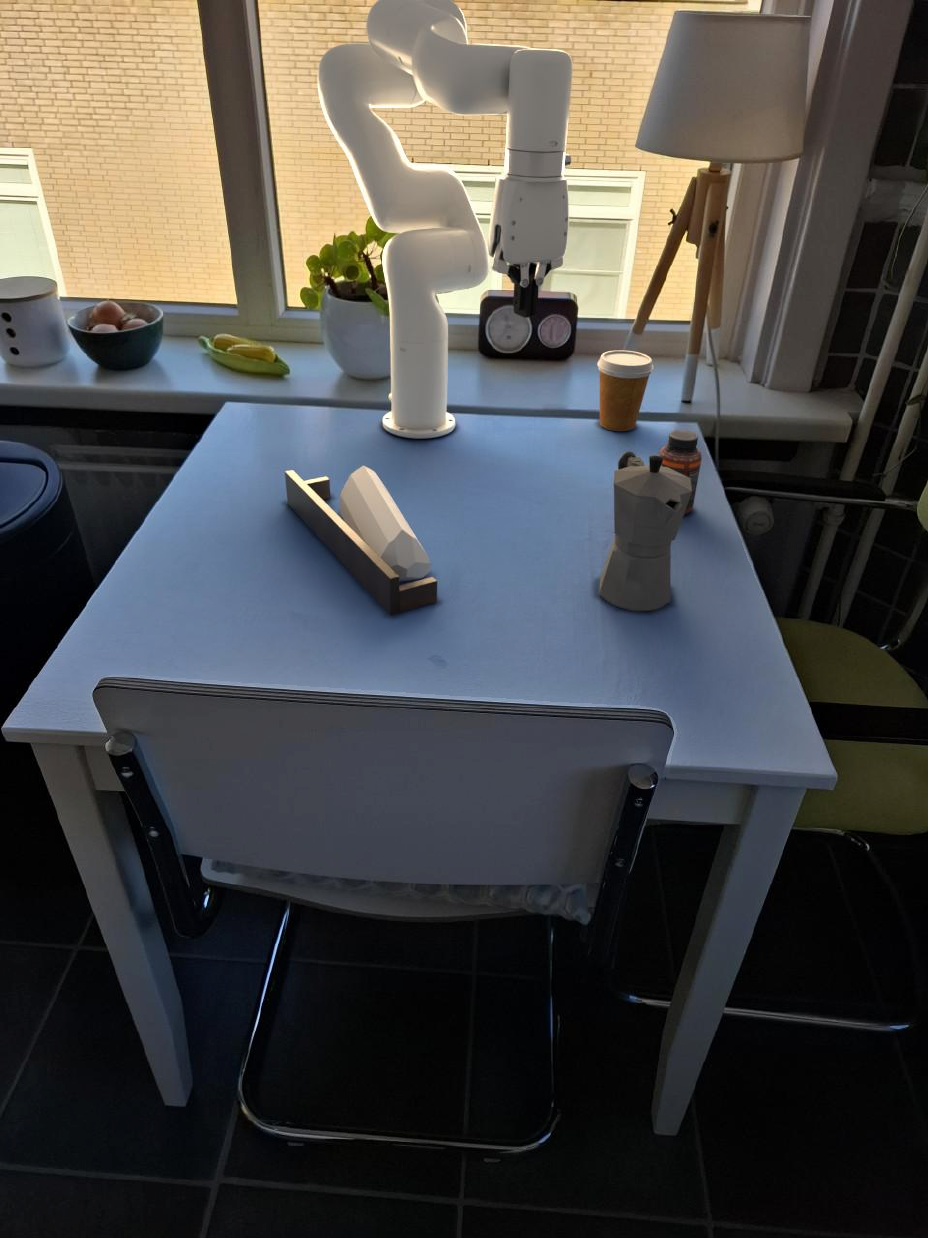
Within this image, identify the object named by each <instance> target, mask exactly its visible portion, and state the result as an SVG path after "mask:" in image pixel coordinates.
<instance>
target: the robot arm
mask: <svg viewBox="0 0 928 1238" xmlns="http://www.w3.org/2000/svg"><path fill="white" fill-rule="evenodd" d="M365 25H366V26H365V27H366V36H367V39H368V42H367V43H366V42H352V43H350V42H349V43H343V44H339V45H336V46H334V47H332V48H330V49H329V50H327V51H326V52H325V53H324V54H323V55H322V57H321V58H320V61H319V65H318V69H317V91H318V97H319V101H320V105H321V109H322V112H323V115H324V118H325V120H326V122H327V125H328V128H329V129H330V130H331V132H332V134H333V135H334V138H335V139H336V140H337V142H338V144H339V145H340V147H341V148H342V150H343V151H344V154H345V156H346V157H347V158H348V159H347V160H348V161H349V164H350V165H351V167H352V170H353V174H354V176H355V178H356V182H357V183H358V186H359V189H360V191H361V193H362V196H363V199H364V201H365V203H366V206H367V208H368V211H369V213H370V215H371V217H372V219H373V222H374V223H375V224H376V226H377V227H378V228H379V229H380V230H381V231H383V232H385V233H389V234H395V235H393V236H392V237H391V238H390V239H388V241H387V242H386V244H385V246H384V248H383V251H382V257H381V259H382V269H383V276H384V280H385V285H386V286H385V287H386V291H387V299H388V309H389V337H390V339H389V340H390V341H389V346H390V393H389V394H388V396H387V397H388V398H387V399H388V400H389V401H390V402H391V405H390V407H391V409H390V410H391V411H389V412H387V413H386V414H385V415H384V416H383V417H382V427H383V428H384V430H385V431H386V432H388V433H390V434H391V435H393V436H394V435H395V436H397V437H401V438H406V439H417V440H418V439H432V438H439V437H443V436H446V435H448V434H450V433H451V432H452V431H453V430H454V429H455V427H456V419H455V417H454V416H453V414H451V413H450V412H447V409H448V408H447V407H448V362H449V361H448V360H449V323H448V318H447V316H446V313H445V311H444V309H443V308H442V306H441V305H440V303H439V302H438V299H437V295H438V294H442V293H447V292H449V293H450V292H456V291H463V290H469V289H472V288H476V287H478V286H480V285H481V284H483V282H485V280H486V279H487V277H488V274H489V272H490V267H491V270H492V271H493V272H496V273H499V274H503V275H506V276H507V277H508V278H509V280H510V283H511V284H513V299H512V307H513V313H514V314H515V315H517V316H520V317H522V318H524V319H528V318H535V317H536V316H537V308H538V305H539V304H538V303H539V293H540V291H539V290H540V287H541V286H542V285H543V284H544V281H545V278H546V276H548V274H549V273H550V271H553V270H556V269H558V268H560V267H562V266H563V264H564V256H565V255H566V252H567V247H568V241H569V225H570V224H569V222H570V203H569V186H568V179H567V178H566V177H565V175H564V174H565V168H566V167H569V166H570V165H571V163H572V156H571V155H570V154H568V153H567V141H568V130H569V129H568V128H569V118H570V117H569V116H570V106H571V93H572V80H573V69H574V67H573V65H574V64H573V59H572V57H571V55H570V54H569V53H568V52H567V51H566V50H561V49H553V48H552V49H549V48H532V47H529V46H525V45H508V44H491V43H487V44H486V43H469V41H468V27H467V22H466V19H465V15H464V13H463V11H462V9H461V8H460V6H459V5H458V4H457V3H456V2H454V1H453V0H377V1H376V2H375V3H374V4H373V5H372V7H371V8H370V9H369V12H368V14H367V18H366V24H365ZM425 101H426V102H429V104H432V105H433V106H435V107H438V108H439V109H441V110H443V111H446V112H448V113H450V114H454V115H457V116H458V115H459V116H507V117H506V135H505V140H506V141H505V156H504V172H503V173H504V175H503V176H498V179H497V182H496V186H495V190H494V194H493V198H492V199H493V200H492V203H491V204H492V205H491V210H490V211H491V212H490V218H489V219H490V220H489V226H488V227H489V228H488V239H487V240H486V237H485V235H484V232H483V229H482V227H481V225H480V221H479V220H478V217H477V214H476V212H475V209H474V207H473V204H472V202H471V200H470V197H469V195H468V193H467V190H466V188H465V186H464V184H463V182H462V180H461V178H460V177H459V176H458V174H456V172H455V171H453V170H452V169H451V168H449V167H447V166H445V165H437V164H430V165H417V164H413V163H411V162H410V161H409V159H408V158H407V156H406V154H405V152H404V150H403V147H402V144H401V142H400V140H399V138H398V136H397V135H396V133H395V132H394V130H393V129H392V128H391V127H390V126H389V125H388V124H387V123H386V121H384V120H383V119H382V118H381V117H379V115H377V114H376V113H375V112H374V111H373V110H372V108H373V109H374V108H375V109H376V108H377V109H378V108H380V109H382V108H383V109H384V108H386V109H387V108H389V109H390V108H394V109H395V108H396V109H397V108H413V107H416V106H420V105H421V104H423V103H424V102H425ZM491 258H493V259H492V264H491Z"/></svg>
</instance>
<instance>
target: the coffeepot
mask: <svg viewBox="0 0 928 1238" xmlns="http://www.w3.org/2000/svg"><path fill="white" fill-rule="evenodd" d="M648 461H649V462H648V463H649V465H647V464H645V461H644V460H643V459H642V458H641V457H640V456H637V455H636V453H634V452H633V451H626V452H625V453H623V454H622V456H621V457H620V458H619V459H618V462H617V469H616V470H614V472H613V524H614V527H613V528H614V529H613V530H614V531H613V532H614V539H613V540H612V542H611V544H610V545H611V546H610V548H609V552H608V555H607V558H606V561H605V563H604V566H603V570H602V573H601V576H600V579H599V591H598V594H599V595H600V596H601V597H602V598H603V600H605V601H606V602H608V603H609V604H611V605H613V606H615V607H617V608H619V609H623V610H627V611H632V612H650V611H655V610H658V609H661V608H663V607H665V606H666V605H667V604H669V603H671V570H672V569H671V567H672V566H671V565H672V563H671V561H672V560H671V555H672V554H671V553H672V552H671V551H672V549H671V547H672V542H673V541H675V540H676V537H677V534H678V532H679V530H680V527H681V524H682V521H683V518H684V517H685V516H684V515H685V514H684V513H685V510H686V507H687V504H688V502H689V499H690V496H691V493H692V487H691V479H690V478H689V477H687V476H685V475H683V474H681V473H678V472H676V471H674V470H672V469H670V468H668V467H661V464H662V462H663V457H660V456H659V455H656V454H652V455H650V456H648Z"/></svg>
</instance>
